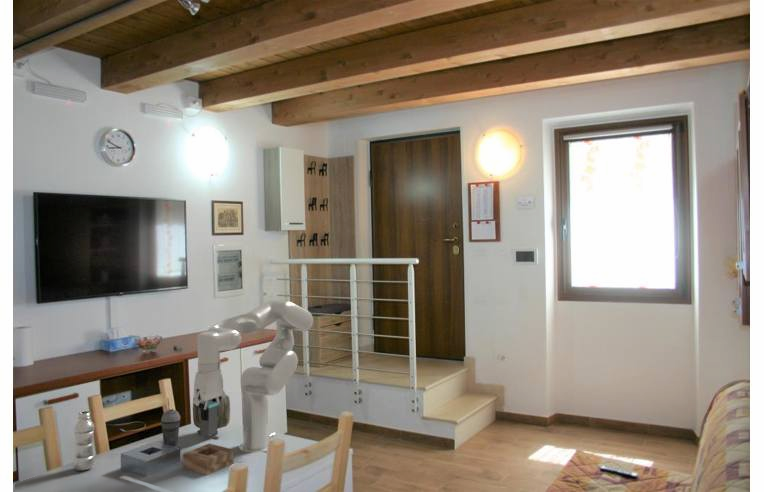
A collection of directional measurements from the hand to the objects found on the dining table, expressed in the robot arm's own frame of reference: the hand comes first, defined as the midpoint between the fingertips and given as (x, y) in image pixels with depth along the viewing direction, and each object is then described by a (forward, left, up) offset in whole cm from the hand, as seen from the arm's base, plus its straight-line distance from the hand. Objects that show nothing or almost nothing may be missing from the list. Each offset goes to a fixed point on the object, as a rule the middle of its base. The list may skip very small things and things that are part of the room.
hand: (209, 417), depth 200 cm
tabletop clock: (-25, -25, -18) cm, 39 cm away
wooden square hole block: (0, 0, -18) cm, 18 cm away
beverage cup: (-5, -26, -18) cm, 32 cm away
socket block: (+10, -18, -18) cm, 28 cm away
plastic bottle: (+23, -37, -18) cm, 47 cm away
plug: (0, 0, -6) cm, 6 cm away
